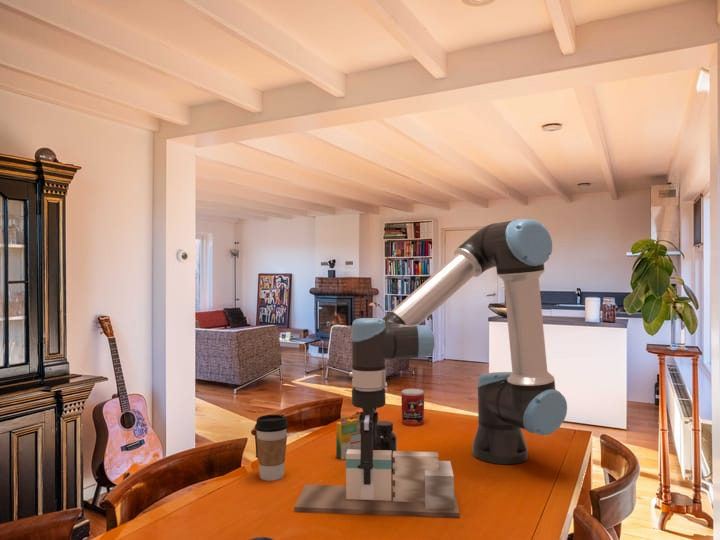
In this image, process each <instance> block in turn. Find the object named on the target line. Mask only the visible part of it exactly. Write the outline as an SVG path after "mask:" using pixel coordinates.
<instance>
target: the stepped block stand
mask: <svg viewBox="0 0 720 540" xmlns="http://www.w3.org/2000/svg"><path fill="white" fill-rule="evenodd" d="M454 479H455V476H454V471H453V467H452V463H451V460H439V452H438V451H413V450H412V451H410V450H397V451H393V472H392V500H391V501H383V500H354V499H346V485H331V484H330V485H329V484H328V485H326V484H325V485H324V484H304V486H303V489H302V490H301V493H300V495H299V496H298V499H297V500H296V503H295V505H294V506H293V512H295V511H296V512H295V513H317V514H319V513H320V514H347V515H371V516H372V515H373V516H401V517H402V516H404V517H424V518H425V517H427V518H428V517H430V518H451V519H452V518H453V519H454V518H455V519H457V518H458V519H459V518H460V517H461V516H460V508H459V505H458V500H457V496H456V492H455V482H454V481H455V480H454Z"/></svg>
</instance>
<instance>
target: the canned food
mask: <svg viewBox="0 0 720 540" xmlns="http://www.w3.org/2000/svg"><path fill="white" fill-rule="evenodd" d="M400 397H401V398H400V399H401V422H402V424H403V425H404V426H407V427H421V426H423V425H424V422H425V391H424V390H422V389H418V388H406V389H403V390H401V396H400Z"/></svg>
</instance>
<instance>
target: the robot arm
mask: <svg viewBox="0 0 720 540" xmlns="http://www.w3.org/2000/svg"><path fill="white" fill-rule="evenodd" d="M552 252H553V239H552V236H551V234H550V232H549V231H548V229H547V228H546V227H545V225H543V224H542V223H541V222H539V221H538V220H536V219H533V218H532V219H531V218H523V219H522V218H518V219H513V220H508V221H502V222H496V223H490V224H487V225H486V226H485V225H484V226H483V227H482V228H480V229H478V230H477V231H476V232H474V233H473V234H472V235H471V236H470V237H468V239H466V240H465V241H464V242H463V243H462V244H460V245H459V246H458V247H457V248H456V249H455V250H454V252H453V256H452V257H451V258H450V259H448V261H447V262H445V264H443V265H442V266H441V267H440V268H439V269H437V270H436V271H435V272H434V273H432V275H431V276H429V277H428V278H427V279H426V280H425V281H424V282H423V283H421V284H420V285H419V286H418V287H417V288H416V289H414V291H412V292H411V293H410V294H409V295H408V296H406V297H405V298H404V299H403V300H402V301H401V302H400V303H399V304H398V305H397V306H395V307H394V308H393V309H392V310H391V311H390V312H388V313H387V314H386V315H385V316H384V317H382V318H378V317H377V318H376V317H362V318H360V317H359V318H356V319H354V320H353V321H352V326H351V334H350V335H351V337H350V341H351V343H350V344H351V372H349V374H348V376H349V377H350V378H351V377H352V379H351V386H352V387H353V388H352V389H351V404H352V406H354V407H356V408H360V409H362V411H359V412H360V415H359V422H360V434H361V458H360V465H358V469H361V499H374V467H373V450H379V446H376V444H377V441H376V429H377V420H378V421H379V412H377V409H379V408H382V407H384V406H385V405H386V389H385V386H386V383H387V382H386V376H387V375H386V361H387V360H388V361H389V360H401V359H404V360H405V359H420V358H424V357H425V358H426V357H430V356H431V354H433V352H434V349H435V335H434V332H433V330H432V328H431V327H429V326H428V325H425V324H423V322H424V321H425V320H426V319H428V317H430V316H431V315H432V314H433V313H434V312H435V311H436V310H437V309H438V308H440V307H441V306H442V305H443V304H444V303H445V302H446V301H447V300H448V299H450V298H451V297H452V296H453V295H454V294H455V293H456V292H458V291H459V290H461V288H462V287H463V286H464V285H465V284H466V283H467V282H468V281H470V280H471V279H472V278H473V277H475V278H477V277H480V276H481V275H482V274H483V273H485V272H486V271H487V270H489V269H493V268H495V267H496V269H495V270H496V275H497V276H498V277H499V278H500V279H502V281H503V285H504V296H505V297H504V298H505V306H506V308H505V309H506V316H507V317H506V319H507V328H508V329H507V330H508V338H509V351H510V360H511V361H510V362H511V371H499V372H485V373H482V374H480V375H479V377H478V378H477V379H478V380H477V381H478V382H477V387H476V388H477V410H478V411H477V412H478V413H477V417H478V418H477V419H478V425H477V428H476V431H475V435H474V438H473V442H472V447H471V449H472V450H471V451H472V452H471V453H472V455H473V456H474V457H475V458H477V459H478V460H480V461H484V462H487V463H491V464H498V465H513V464H515V465H516V464H521V463H524V462H526V461H527V460H528V459H529V449H528V446H527V443H526V439H525V436H524V434H523V431H522V430H525V431H527V432H529V433H531V434H537V435H540V436H548V435H551V434H553V433H555V432H556V431H558V429H560V427H561V425H562V424H563V423H564V422H565V419H566V416H567V413H568V404H567V399H566V397H565V396H564V394H562V393H561V392H560V391H558V389H556V382H555V377H554V375H552V374H551V373H550V372H549V371H548V364H547V353H546V343H545V341H546V340H545V331H544V322H543V321H544V318H543V309H542V308H543V307H542V299H541V287H540V277H541V276H542V275H543V274H544V273H545V263H547V261H548V260H549V259H550V255H552ZM364 462H368V463H364Z"/></svg>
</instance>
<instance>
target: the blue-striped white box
mask: <svg viewBox="0 0 720 540" xmlns="http://www.w3.org/2000/svg"><path fill="white" fill-rule="evenodd" d="M360 458H361V450H354V449H347V452H346V459H345V486H346V499H354V500H383V501H391V500H392V487H393V472H392V450H373V467H374V499H361V469H358V465H360ZM364 463H368V462H364Z"/></svg>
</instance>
